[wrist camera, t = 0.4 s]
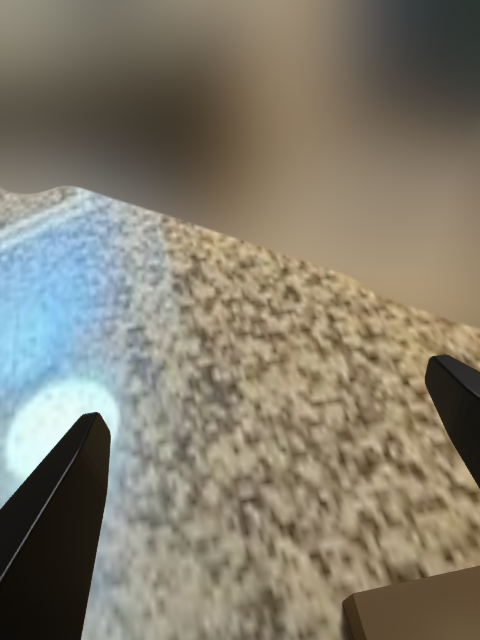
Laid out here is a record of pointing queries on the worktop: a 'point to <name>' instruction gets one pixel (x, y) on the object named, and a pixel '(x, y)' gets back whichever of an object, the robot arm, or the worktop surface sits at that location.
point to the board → (419, 609)
